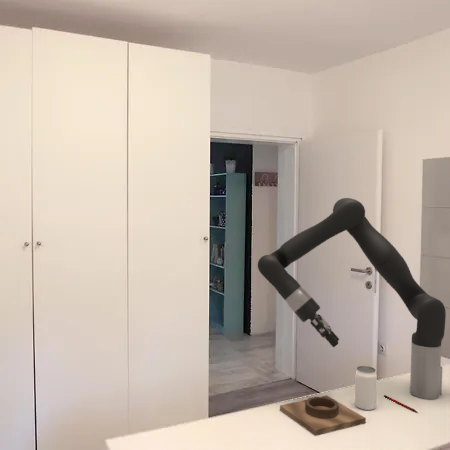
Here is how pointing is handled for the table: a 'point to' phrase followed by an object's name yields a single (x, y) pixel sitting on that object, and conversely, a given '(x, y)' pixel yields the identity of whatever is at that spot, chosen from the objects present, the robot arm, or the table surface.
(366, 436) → the table surface
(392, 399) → the pencil
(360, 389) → the can
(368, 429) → the table surface
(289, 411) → the socket board
